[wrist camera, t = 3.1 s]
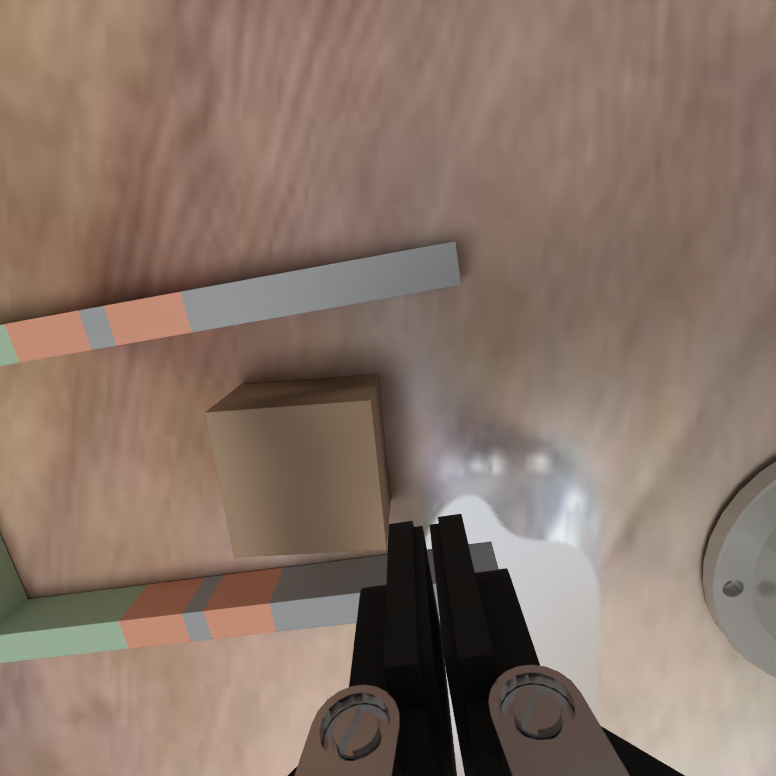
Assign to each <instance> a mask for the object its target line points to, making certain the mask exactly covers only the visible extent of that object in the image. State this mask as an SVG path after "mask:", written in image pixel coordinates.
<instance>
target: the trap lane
mask: <svg viewBox="0 0 776 776" xmlns="http://www.w3.org/2000/svg"><path fill="white" fill-rule="evenodd" d="M460 285H461V280H460V272H459V265H458V257H457V250H456V243H455V241H454V242H449V243H443V244H438V245H432V246H427V247H421V248H416V249H410V250H405V251H400V252H394V253H389V254H383V255H378V256H372V257H367V258H362V259H356V260H351V261H345V262H340V263H334V264H329V265H323V266H318V267H313V268H307V269H302V270H296V271H291V272H285V273H280V274H274V275H269V276H264V277H258V278H253V279H247V280H242V281H236V282H231V283H226V284H220V285H215V286H209V287H204V288H198V289H193V290H187V291H182V292H177V293H171V294H166V295H160V296H155V297H149V298H144V299H138V300H133V301H128V302H122V303H117V304H111V305H106V306H100V307H95V308H89V309H84V310H79V311H73V312H68V313H62V314H57V315H51V316H46V317H41V318H35V319H30V320H24V321H19V322H13V323H8V324H2V325H0V366H3V365H8V364H14V363H20V362H25V361H31V360H37V359H43V358H48V357H54V356H60V355H65V354H71V353H77V352H83V351H88V350H94V349H100V348H105V347H111V346H117V345H123V344H128V343H134V342H140V341H145V340H151V339H157V338H163V337H168V336H174V335H180V334H185V333H191V332H197V331H203V330H208V329H214V328H220V327H225V326H231V325H237V324H243V323H248V322H254V321H260V320H265V319H271V318H277V317H283V316H288V315H294V314H300V313H305V312H311V311H317V310H323V309H328V308H334V307H340V306H345V305H351V304H357V303H363V302H368V301H374V300H380V299H385V298H391V297H397V296H402V295H408V294H414V293H420V292H425V291H431V290H437V289H442V288H448V287H454V286H460ZM468 545H469V549H470V554H471V558H472V562H473V567H474V571H475V573H476V572H483V571H491V570H498V566H497V562H496V558H495V554H494V551H493V547H492V543H491V542H485V543H476V544H468ZM427 553H428V559H429V565H430V570H431V576H432V581H433V587H434V593H435V598H436V604H437V609H438V614H439V607H438V598H437V589H436V579H435V570H434V561H433V551H432V549H428V550H427ZM387 556H388V555H380V556H372V557H364V558H356V559H348V560H340V561H332V562H324V563H316V564H308V565H300V566H291V567H283V568H275V569H267V570H259V571H251V572H243V573H235V574H227V575H219V576H211V577H203V578H195V579H187V580H179V581H171V582H163V583H155V584H147V585H139V586H131V587H123V588H115V589H107V590H99V591H91V592H83V593H75V594H67V595H59V596H51V597H43V598H35V599H28V597H27V595H26V593H25V591H24V588H23V586H22V584H21V581H20V579H19V577H18V574H17V572H16V570H15V567H14V565H13V563H12V561H11V558H10V556H9V554H8V551H7V549H6V547H5V544H4V542H3V540H2V538H1V535H0V663H3V662H12V661H21V660H30V659H39V658H48V657H57V656H66V655H75V654H84V653H93V652H102V651H110V650H119V649H128V648H137V647H146V646H155V645H164V644H173V643H182V642H191V641H200V640H209V639H218V638H227V637H236V636H245V635H254V634H263V633H272V632H280V631H289V630H298V629H307V628H316V627H325V626H334V625H343V624H352V623H357V615H358V606H359V598H360V591H361V589H362V588H365V587H372V586H379V585H386V581H387Z"/></svg>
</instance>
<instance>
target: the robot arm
mask: <svg viewBox="0 0 776 776" xmlns="http://www.w3.org/2000/svg"><path fill="white" fill-rule="evenodd" d="M438 521H439V524H432V525H430V533H431V542H432V551H433V561H434V570H435V579H436V589H437V598H438V607H439V615H438V609H437V604H436V598H435V593H434V587H433V581H432V576H431V570H430V565H429V559H428V553H427V548H426V542H425V537H424V531H423V527H422V526H418V527H414V525H413V521H407V522H401V523H394V524H389V532H388V556H387V581H386V585H379V586H372V587H365V588H362V589H361V591H360V598H359V606H358V615H357V624H356V632H355V641H354V649H353V658H352V667H351V675H350V684H349V688H346V689H344V690H341V691H339V692H338V693H336V694H335V695H333V696H332V697H331V698H329V699H328V700H327V701H326V702H325V703H324V704H323V706H322V707H321V708H320V709H319V710H318V712H317V714H316V716H315V718H314V720H313V722H312V725H311V728H310V731H309V734H308V737H307V740H306V743H305V746H304V749H303V752H302V755H301V758H300V761H299V764H298V766H297V767H296V768H295V769H294V770H293V771H292V772H291V773H290V774H289V775H288V776H457V772H456V763H455V753H454V744H453V735H452V725H451V717H450V707H449V698H448V688H447V680H446V673H447V679H448V684H449V690H450V695H451V701H452V706H453V712H454V717H455V723H456V728H457V734H458V739H459V745H460V751H461V756H462V762H463V767H464V773H465V776H684V775H683V774H681V773H679V772H678V771H676V770H674V769H673V768H671V767H669V766H667V765H666V764H664V763H662V762H661V761H659V760H657V759H656V758H654V757H652V756H651V755H649V754H647V753H645V752H644V751H642V750H640V749H639V748H637V747H635V746H634V745H632V744H630V743H629V742H627V741H625V740H623V739H622V738H620V737H618V736H617V735H615V734H613V733H612V732H610V731H608V730H607V729H605V728H603V727H601V726H600V724H599V723H598V721H597V719H596V718H595V716H594V714H593V713H592V711H591V709H590V708H589V706H588V704H587V702H586V701H585V699H584V697H583V696H582V694H581V692H580V691H579V690H578V689H577V687H576V686H575V685H574V684H573V683H572V681H571V680H569V679H568V678H567V677H565V676H564V675H563V674H561V673H560V672H558V671H555V670H553V669H550V668H548V667H544V666H540V664H539V661H538V658H537V655H536V652H535V649H534V646H533V643H532V640H531V637H530V634H529V631H528V628H527V625H526V622H525V619H524V616H523V613H522V610H521V607H520V604H519V601H518V599H517V595H516V592H515V589H514V586H513V583H512V580H511V578H510V574H509V572H508V570H507V569H498V570H491V571H483V572H476V573H475V571H474V567H473V562H472V558H471V554H470V549H469V545H468V541H467V537H466V532H465V528H464V523H463V519H462V515H461V514H457V515H449V516H442V517H438ZM703 588H704V593H705V599H706V604H707V606H708V608H709V611H710V613H711V615H712V617H713V619H714V621H715V624H716V625H717V626H718V627H719V629H720V630H721V631H722V633H723V634H724V635H725V636H726V638H727V639H728V640H729V642H730V643H731V644H732V646H733V647H734V648H735V649H736V650H737V651H738V652H739V653H740V654H741V655H742V656H743V657H744V658H745V659H746V660H747V661H749V662H750V663H752V664H753V665H755V666H756V667H758V668H760V669H761V670H763V671H764V672H766V673H767V674H770V675H772V676H774V677H776V462H774V463H773V464H771V465H770V466H768V467H767V468H765V469H764V470H762V471H761V472H760V473H759V474H757V475H756V476H755V477H754V478H753V479H752V480H751V481H750V482H749V483H748V484H747V485H746V486H745V487H743V488H742V489H741V490H740V491H739V492H738V494H737V495H736V496H735V497H734V499H733V500H732V501H731V503H730V504H729V505H728V507H727V508H726V509H725V511H724V512H723V513H722V515H721V517H720V519H719V521H718V523H717V524H716V526H715V528H714V530H713V532H712V534H711V536H710V539H709V543H708V546H707V550H706V554H705V557H704V563H703ZM439 616H440V621H439ZM440 626H441V627H440ZM444 660H445V661H444ZM445 667H446V670H445Z"/></svg>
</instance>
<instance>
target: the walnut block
mask: <svg viewBox="0 0 776 776" xmlns="http://www.w3.org/2000/svg"><path fill="white" fill-rule="evenodd" d="M205 415H206V420H207V425H208V430H209V435H210V440H211V445H212V450H213V455H214V460H215V465H216V470H217V475H218V480H219V485H220V490H221V495H222V500H223V504H224V509H225V514H226V519H227V524H228V529H229V534H230V539H231V544H232V549H233V554H234V557H253V556H272V555H291V554H310V553H329V552H348V551H367V550H386V549H387V537H388V525H389V513H390V501H391V500H390V490H389V480H388V470H387V460H386V450H385V440H384V430H383V420H382V410H381V400H380V390H379V380H378V374H371V375H358V376H345V377H332V378H319V379H306V380H293V381H280V382H267V383H254V384H241V385H240V386H238V387H237V388H236V389H235V390H233V391H232V392H231V393H229V394H228V395H227V396H226V397H224V398H223V399H222V400H220V401H219V402H218V403H217V404H215V405H214V406H213V407H211V408H210V409H209V410H208V411H206V412H205Z"/></svg>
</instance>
